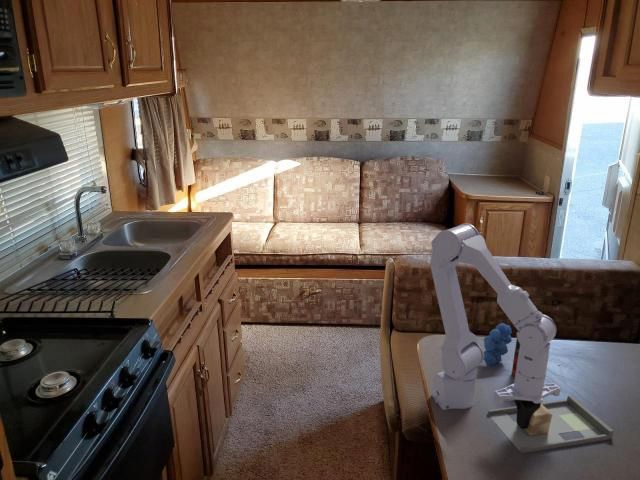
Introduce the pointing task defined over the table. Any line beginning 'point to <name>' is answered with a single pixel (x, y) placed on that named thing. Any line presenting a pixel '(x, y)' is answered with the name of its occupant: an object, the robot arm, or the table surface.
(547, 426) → the block
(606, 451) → the table surface
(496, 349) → the grapes
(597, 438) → the board
